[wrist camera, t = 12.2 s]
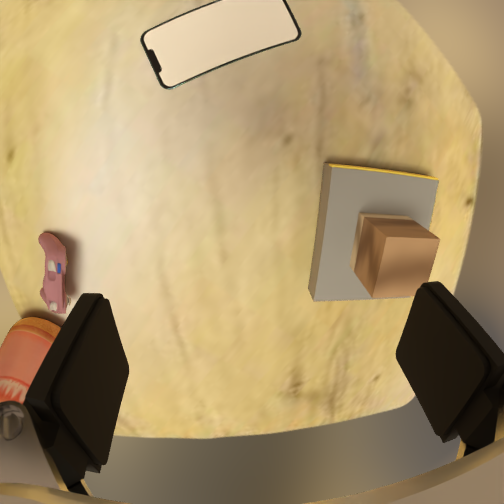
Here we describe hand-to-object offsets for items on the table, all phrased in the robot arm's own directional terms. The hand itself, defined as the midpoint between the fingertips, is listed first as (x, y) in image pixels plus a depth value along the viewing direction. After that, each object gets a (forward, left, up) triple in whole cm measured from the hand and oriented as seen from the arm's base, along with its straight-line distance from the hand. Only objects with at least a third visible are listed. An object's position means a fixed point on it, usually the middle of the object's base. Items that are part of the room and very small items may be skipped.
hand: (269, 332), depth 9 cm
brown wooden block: (+7, +16, -24) cm, 30 cm away
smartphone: (-15, -3, -27) cm, 31 cm away
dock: (+7, +16, -27) cm, 32 cm away
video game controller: (+12, -24, -27) cm, 38 cm away
